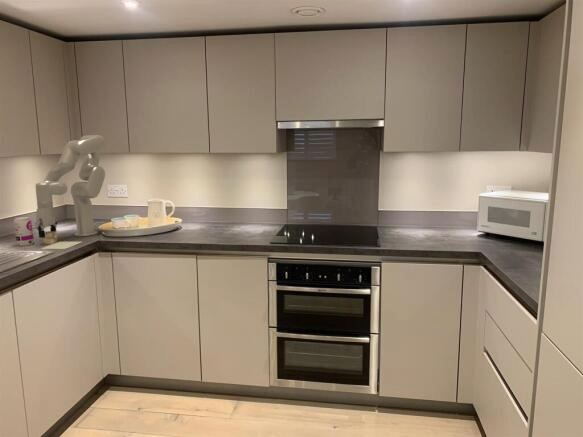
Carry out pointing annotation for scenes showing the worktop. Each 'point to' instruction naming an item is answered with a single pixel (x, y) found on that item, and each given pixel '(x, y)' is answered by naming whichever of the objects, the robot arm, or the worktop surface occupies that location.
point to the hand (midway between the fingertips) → (48, 235)
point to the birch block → (50, 238)
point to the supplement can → (23, 231)
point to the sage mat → (61, 245)
